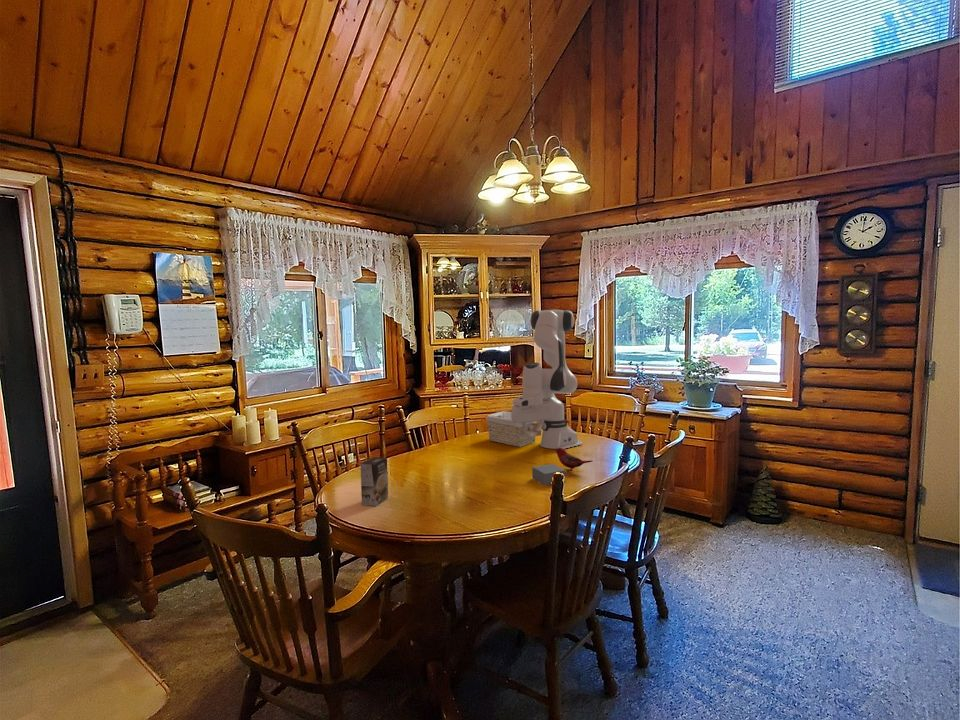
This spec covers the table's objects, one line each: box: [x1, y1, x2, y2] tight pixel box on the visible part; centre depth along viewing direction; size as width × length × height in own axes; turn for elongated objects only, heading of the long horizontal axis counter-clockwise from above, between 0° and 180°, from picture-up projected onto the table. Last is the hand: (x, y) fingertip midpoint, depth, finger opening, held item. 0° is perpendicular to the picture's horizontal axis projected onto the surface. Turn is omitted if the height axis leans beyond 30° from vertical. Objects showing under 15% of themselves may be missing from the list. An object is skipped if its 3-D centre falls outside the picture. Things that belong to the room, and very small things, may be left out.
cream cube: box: [526, 422, 542, 437], centre depth 225 cm, size 5×5×5 cm
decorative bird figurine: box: [554, 448, 593, 472], centre depth 224 cm, size 3×18×10 cm, turn 59°
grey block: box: [531, 463, 566, 486], centre depth 214 cm, size 10×10×5 cm
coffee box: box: [359, 456, 389, 507], centre depth 193 cm, size 9×6×16 cm
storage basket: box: [486, 410, 538, 448], centre depth 277 cm, size 24×16×15 cm
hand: (533, 430), depth 226 cm, fingers closed on cream cube, 5 cm apart
